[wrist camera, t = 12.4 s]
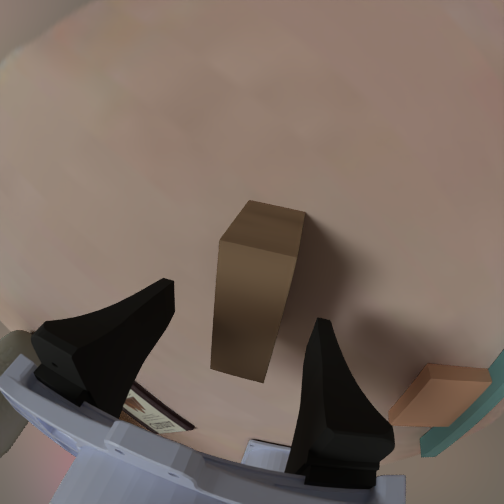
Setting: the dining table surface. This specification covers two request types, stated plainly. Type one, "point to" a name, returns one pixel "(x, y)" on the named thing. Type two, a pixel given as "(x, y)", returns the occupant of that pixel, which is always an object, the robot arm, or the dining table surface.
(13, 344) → the olive grey vase
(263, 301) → the tall cardboard box
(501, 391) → the rail
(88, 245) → the dining table surface
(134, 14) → the dining table surface
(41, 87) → the dining table surface
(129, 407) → the chocolate bar
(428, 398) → the tile
